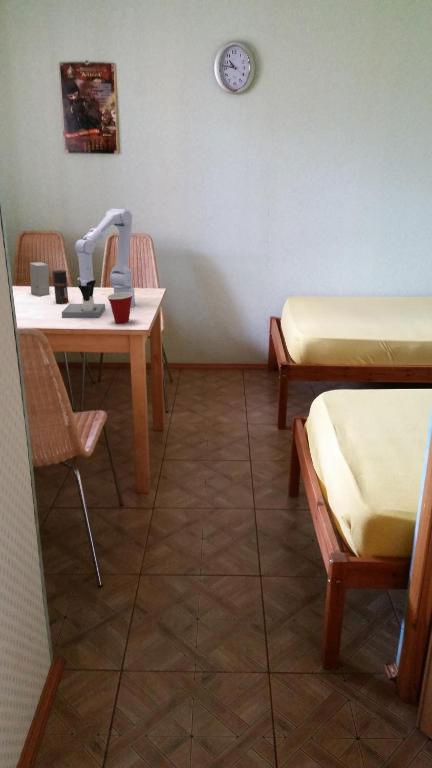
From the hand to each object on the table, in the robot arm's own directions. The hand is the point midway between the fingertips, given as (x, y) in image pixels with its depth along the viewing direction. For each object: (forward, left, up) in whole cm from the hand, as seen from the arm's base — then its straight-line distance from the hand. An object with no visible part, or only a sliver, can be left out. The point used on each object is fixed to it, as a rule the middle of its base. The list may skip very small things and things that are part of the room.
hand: (88, 298), depth 273 cm
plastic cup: (-16, +12, -8) cm, 21 cm away
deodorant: (+18, -24, -8) cm, 31 cm away
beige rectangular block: (0, 0, -7) cm, 7 cm away
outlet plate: (+3, -3, -7) cm, 8 cm away
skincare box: (+33, -42, -8) cm, 54 cm away
